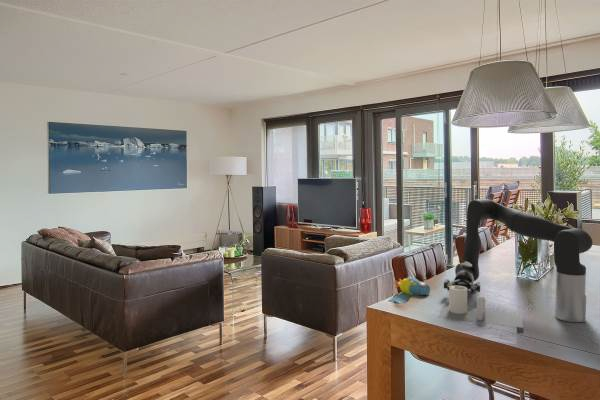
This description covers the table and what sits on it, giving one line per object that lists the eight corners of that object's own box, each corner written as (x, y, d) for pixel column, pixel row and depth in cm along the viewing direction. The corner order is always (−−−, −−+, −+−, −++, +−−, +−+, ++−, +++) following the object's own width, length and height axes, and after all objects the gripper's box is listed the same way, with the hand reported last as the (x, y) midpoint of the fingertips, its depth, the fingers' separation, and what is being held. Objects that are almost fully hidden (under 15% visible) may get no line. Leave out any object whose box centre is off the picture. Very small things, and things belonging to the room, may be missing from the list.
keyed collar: (467, 309, 169) (467, 286, 168) (466, 314, 163) (466, 290, 163) (449, 307, 172) (450, 284, 171) (447, 312, 166) (448, 288, 165)
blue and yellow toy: (411, 269, 208) (442, 274, 198) (411, 286, 209) (441, 293, 199) (380, 281, 187) (412, 287, 177) (380, 300, 188) (412, 308, 178)
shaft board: (521, 318, 162) (522, 292, 161) (523, 331, 149) (523, 303, 149) (443, 309, 174) (443, 285, 173) (438, 321, 161) (438, 294, 160)
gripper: (447, 270, 193) (442, 279, 179) (481, 273, 187) (479, 282, 173) (446, 287, 194) (442, 297, 179) (481, 290, 188) (479, 301, 173)
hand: (460, 290), depth 176 cm, fingers open, 8 cm apart
